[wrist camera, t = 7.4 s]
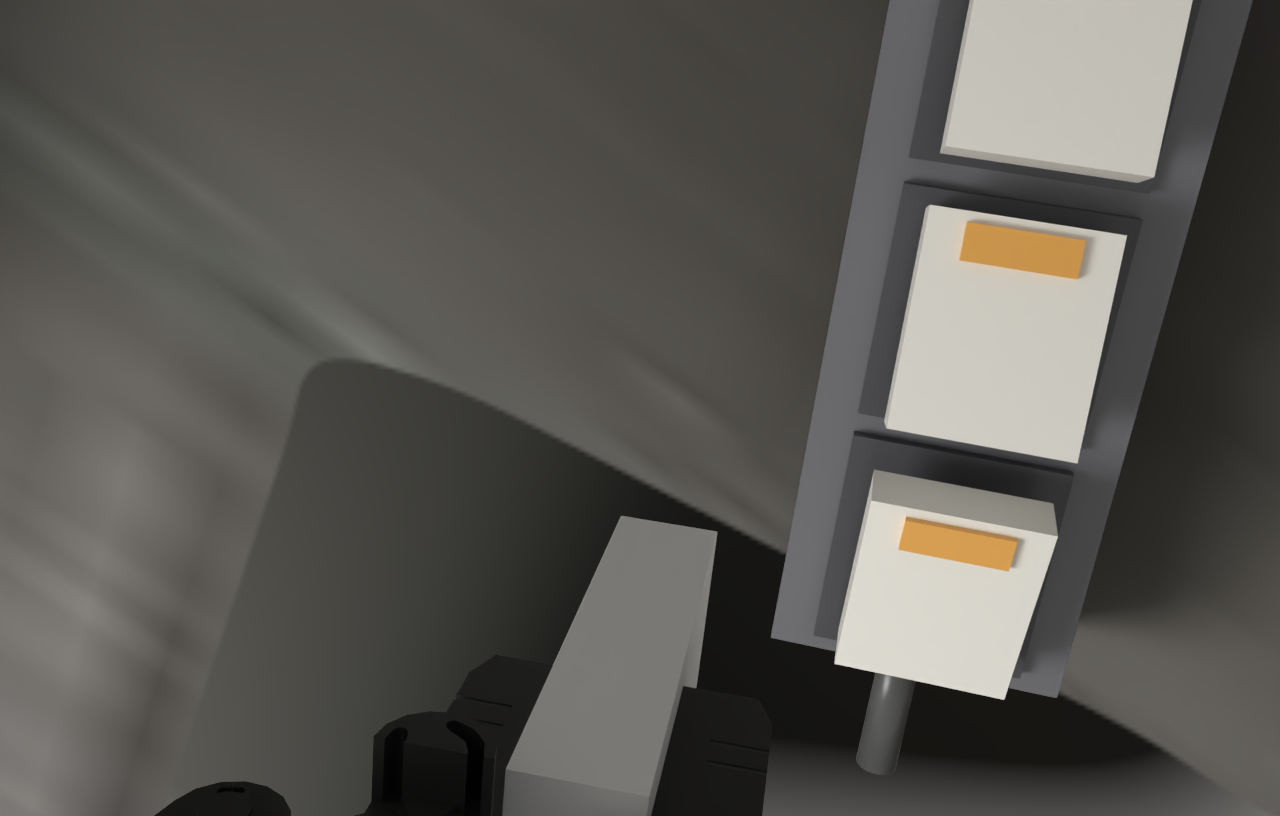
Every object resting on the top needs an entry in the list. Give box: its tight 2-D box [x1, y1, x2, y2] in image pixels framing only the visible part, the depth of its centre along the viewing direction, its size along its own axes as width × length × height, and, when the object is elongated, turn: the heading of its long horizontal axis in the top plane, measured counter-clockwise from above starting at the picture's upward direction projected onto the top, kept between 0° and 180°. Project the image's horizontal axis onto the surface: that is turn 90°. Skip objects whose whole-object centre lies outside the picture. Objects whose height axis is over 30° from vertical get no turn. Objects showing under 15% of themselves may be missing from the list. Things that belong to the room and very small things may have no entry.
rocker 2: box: [884, 205, 1127, 463], centre depth 32 cm, size 5×6×2 cm
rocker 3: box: [835, 470, 1058, 700], centre depth 35 cm, size 5×6×2 cm
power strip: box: [771, 0, 1253, 775], centre depth 37 cm, size 9×29×5 cm, turn 172°
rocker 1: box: [940, 0, 1193, 183], centre depth 30 cm, size 5×6×2 cm
